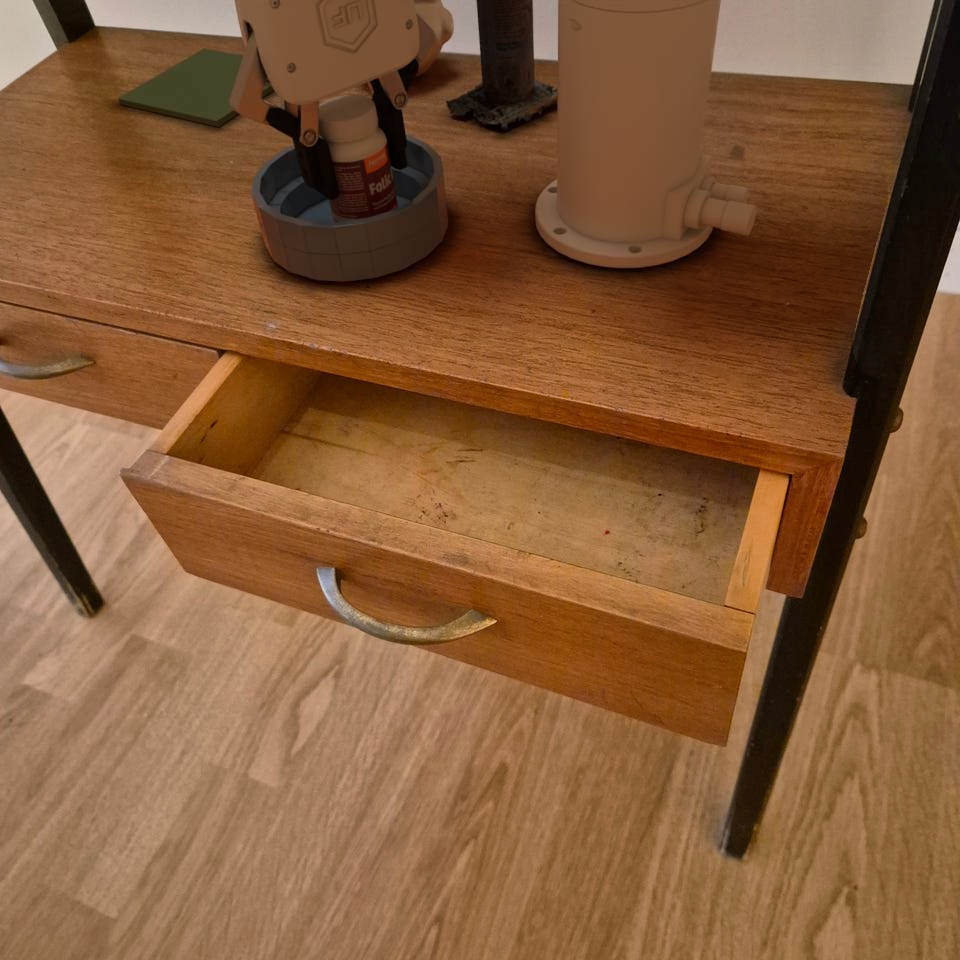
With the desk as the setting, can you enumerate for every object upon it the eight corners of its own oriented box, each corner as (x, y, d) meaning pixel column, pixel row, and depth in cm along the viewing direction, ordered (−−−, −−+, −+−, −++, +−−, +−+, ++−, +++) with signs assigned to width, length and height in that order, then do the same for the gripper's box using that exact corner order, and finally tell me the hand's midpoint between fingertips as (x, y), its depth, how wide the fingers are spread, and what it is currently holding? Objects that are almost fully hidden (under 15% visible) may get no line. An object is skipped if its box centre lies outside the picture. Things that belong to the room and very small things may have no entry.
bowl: (480, 206, 65) (476, 149, 62) (383, 304, 58) (373, 244, 54) (336, 172, 70) (325, 117, 67) (229, 257, 62) (211, 200, 59)
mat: (301, 72, 83) (299, 66, 83) (218, 127, 77) (216, 120, 76) (205, 54, 88) (204, 48, 87) (119, 104, 81) (117, 98, 80)
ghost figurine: (436, 101, 77) (424, -22, 70) (339, 93, 80) (318, -28, 72) (469, 60, 83) (461, -59, 76) (378, 52, 85) (362, -63, 78)
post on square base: (511, 139, 72) (506, -21, 63) (442, 115, 76) (428, -39, 67) (577, 98, 76) (580, -57, 67) (508, 77, 80) (503, -72, 71)
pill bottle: (390, 241, 61) (369, 124, 55) (326, 239, 62) (298, 124, 56) (407, 205, 64) (388, 91, 58) (346, 203, 65) (321, 91, 59)
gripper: (178, -82, 42) (276, 247, 55) (462, -163, 48) (488, 151, 61) (121, -108, 46) (225, 203, 60) (388, -180, 52) (428, 118, 66)
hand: (358, 174), depth 60 cm, fingers closed on pill bottle, 4 cm apart
